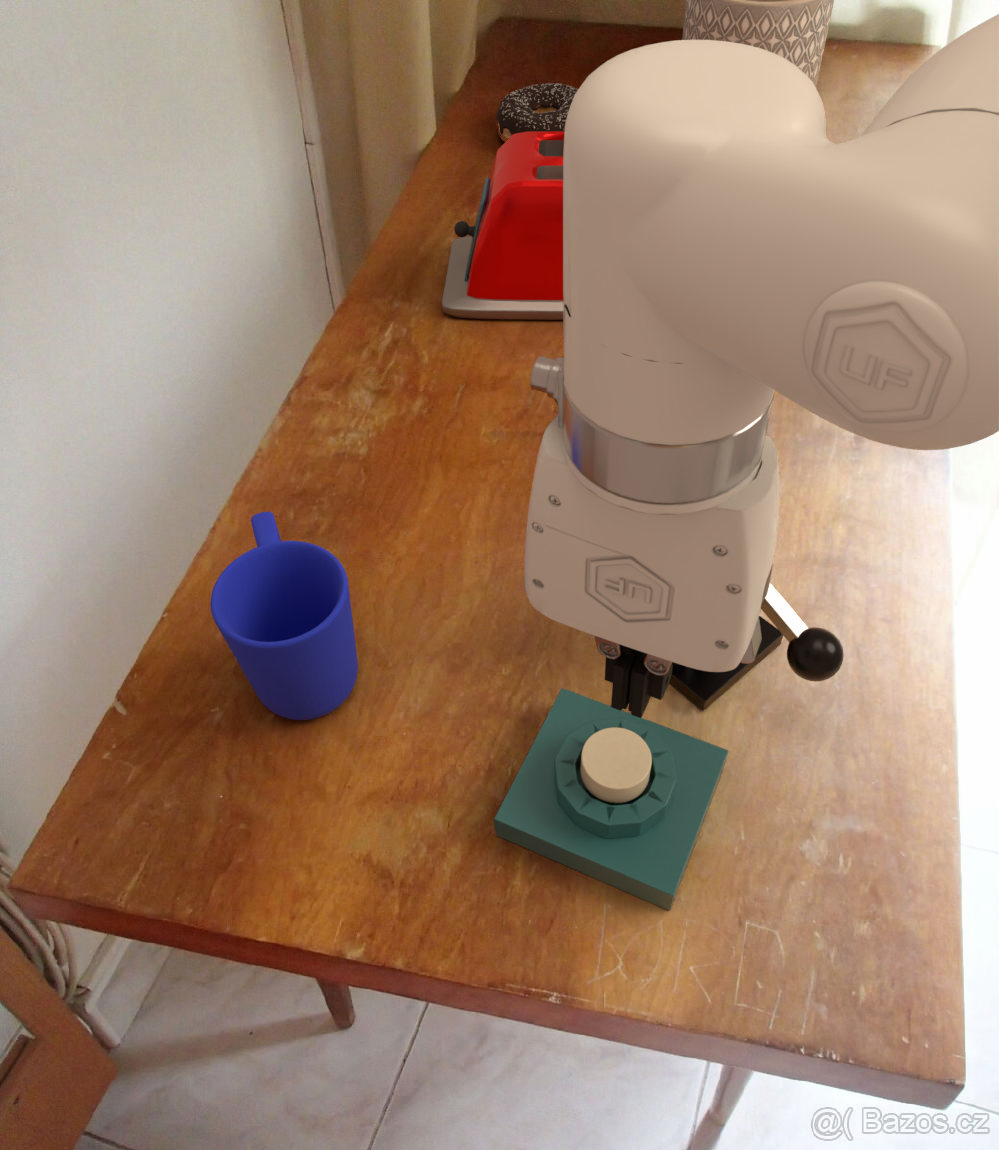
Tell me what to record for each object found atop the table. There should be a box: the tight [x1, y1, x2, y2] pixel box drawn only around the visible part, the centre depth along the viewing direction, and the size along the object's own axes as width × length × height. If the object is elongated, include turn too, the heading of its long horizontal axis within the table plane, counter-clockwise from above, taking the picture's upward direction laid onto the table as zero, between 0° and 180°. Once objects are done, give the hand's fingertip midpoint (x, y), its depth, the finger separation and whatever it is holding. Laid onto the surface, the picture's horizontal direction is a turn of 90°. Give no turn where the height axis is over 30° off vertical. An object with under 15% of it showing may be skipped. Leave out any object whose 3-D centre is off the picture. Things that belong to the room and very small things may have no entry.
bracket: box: [669, 615, 784, 712], centre depth 63 cm, size 10×8×13 cm
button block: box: [493, 687, 729, 911], centre depth 59 cm, size 11×10×4 cm
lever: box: [760, 581, 845, 683], centre depth 59 cm, size 13×3×3 cm, turn 41°
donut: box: [495, 82, 578, 143], centre depth 113 cm, size 11×12×4 cm
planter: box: [681, 0, 835, 88], centre depth 115 cm, size 16×16×13 cm
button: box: [581, 727, 652, 803], centre depth 57 cm, size 4×4×2 cm
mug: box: [210, 511, 359, 721], centre depth 64 cm, size 8×12×10 cm
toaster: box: [441, 131, 565, 321], centre depth 88 cm, size 32×13×19 cm, turn 86°
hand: (636, 690), depth 51 cm, fingers closed
